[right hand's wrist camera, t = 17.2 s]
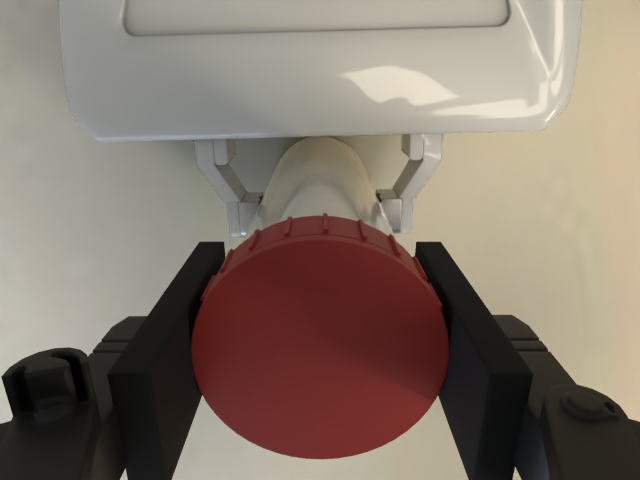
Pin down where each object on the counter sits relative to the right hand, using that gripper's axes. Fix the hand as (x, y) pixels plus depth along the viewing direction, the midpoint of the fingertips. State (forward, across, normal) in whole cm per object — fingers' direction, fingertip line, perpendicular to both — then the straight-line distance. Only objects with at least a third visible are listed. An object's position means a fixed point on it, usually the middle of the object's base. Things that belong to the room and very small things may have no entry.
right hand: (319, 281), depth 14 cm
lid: (-4, 0, 0) cm, 4 cm away
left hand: (+7, 0, -1) cm, 7 cm away
